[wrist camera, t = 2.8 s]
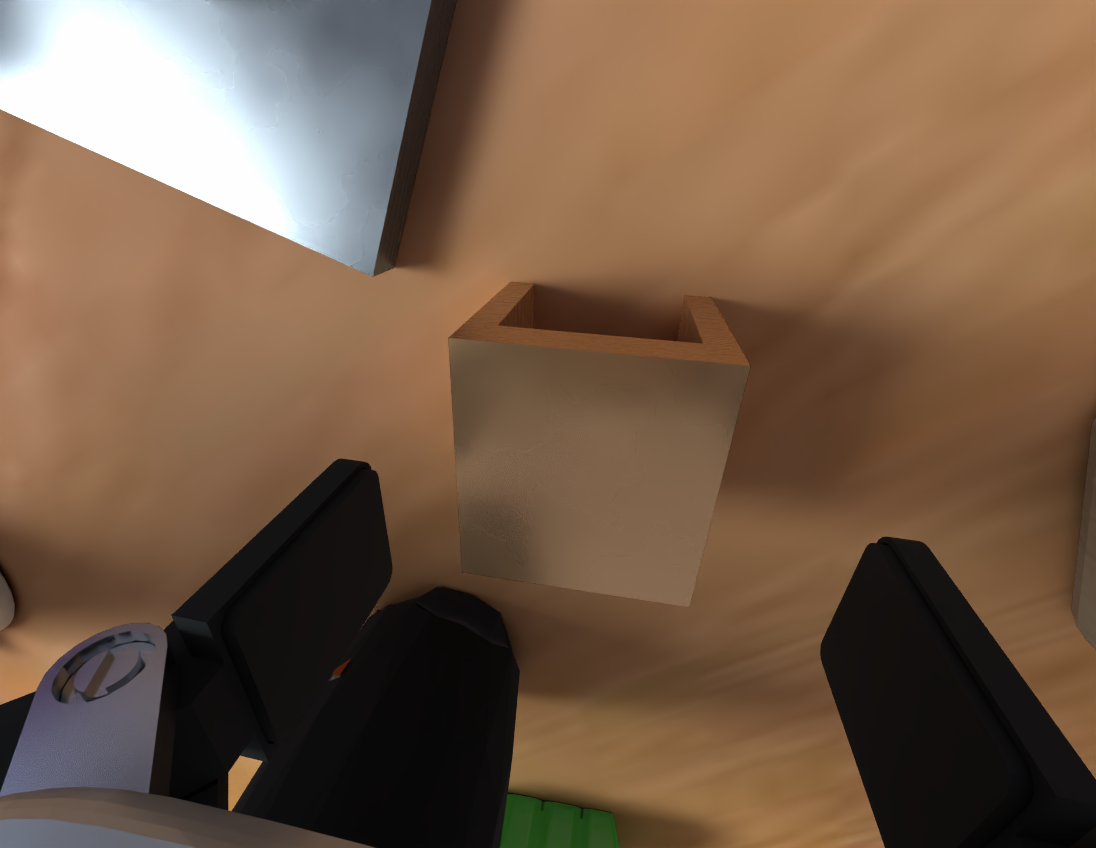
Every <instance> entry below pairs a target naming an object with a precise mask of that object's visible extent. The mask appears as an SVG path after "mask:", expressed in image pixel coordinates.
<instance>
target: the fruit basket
mask: <svg viewBox="0 0 1096 848" xmlns="http://www.w3.org/2000/svg"><path fill="white" fill-rule="evenodd" d="M500 848H619V843H618V838H617V832H616V826H615V820H614V816H613V814H612V813H609V812H604V811H599V810H594V809H581V808H579V807H576V806H573V805H568V804H563V803H557V802H552V801H545V802H542V801H541V800H539V799H536V798H532V797H527V796H522V795H516V794H507V801H506V808H505V815H504V823H503V830H502V838H501V845H500Z"/></svg>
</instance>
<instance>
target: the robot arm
mask: <svg viewBox="0 0 1096 848" xmlns="http://www.w3.org/2000/svg"><path fill="white" fill-rule="evenodd" d="M391 575H392V560H391V554H390V547H389V541H388V535H387V528H386V522H385V516H384V509H383V503H382V497H381V490H380V484H379V478H378V474H377V472H376V471H374V470H371V466H370V465H369V464H368V463H366V462H361V461H354V460H348V459H337V460H336V461H334V462H333V463H332V464H331V465H330V466H329V467H328V468H327V469H326V470H325V471H324V472H323V473H322V474H321V475H320V476H318V477H317V478H316V479H315V480H314V481H313V482H312V483H311V484H310V485H309V486H308V487H307V488H306V489H305V490H304V491H303V492H302V493H300V494H299V495H298V496H297V497H296V498H295V499H294V500H293V501H292V502H291V503H290V504H289V505H288V506H287V507H286V508H285V509H284V510H282V511H281V512H280V513H279V514H278V515H277V516H276V517H275V518H274V519H273V520H272V521H271V522H270V523H269V524H268V525H267V526H266V527H265V528H263V529H262V530H261V531H260V532H259V533H258V534H257V535H256V536H255V537H254V538H253V539H252V540H251V541H250V542H249V543H248V544H247V545H245V546H244V547H243V548H242V549H241V550H240V551H239V552H238V553H237V554H236V555H235V556H234V557H233V558H232V559H231V560H230V561H229V562H227V563H226V564H225V565H224V566H223V567H222V568H221V569H220V570H219V571H218V572H217V573H216V574H215V575H214V576H213V577H212V578H211V579H209V580H208V581H207V582H206V583H205V584H204V585H203V586H202V587H201V588H200V589H199V590H198V591H197V592H196V593H195V594H194V595H193V596H191V597H190V598H189V599H188V600H187V601H186V602H185V603H184V604H183V605H182V606H181V607H180V608H179V609H178V610H177V611H176V612H175V613H173V614H172V615H171V616H172V618H173V620H174V621H173V622H171V623H170V624H169V625H168V626H167V627H166V628H165V629H164V630H162V629H161V628H160V627H159V626H156V625H153V624H150V623H130V624H126V625H121V626H117V627H113V628H111V629H108V630H106V631H103V632H101V633H98V634H96V635H94V636H92V637H90V638H88V639H87V640H85V641H83V642H81V643H80V644H78V645H76V646H75V647H74V648H72V649H71V650H70V651H68V652H67V653H66V654H65V655H63V656H62V657H61V658H59V659H58V660H57V661H56V663H55V664H54V665H53V666H52V667H51V668H50V669H49V670H48V671H47V672H46V673H45V675H44V677H43V679H42V681H41V682H40V684H39V686H38V688H37V690H36V691H35V692H33V693H30V694H28V695H25V696H22V697H20V698H17V699H15V700H12V701H9V702H7V703H4V704H2V705H0V848H375V847H371V846H367V845H363V844H359V843H355V842H352V841H348V840H344V839H340V838H336V837H332V836H328V835H324V834H321V833H317V832H313V831H309V830H305V829H301V828H297V827H294V826H290V825H286V824H282V823H278V822H274V821H270V820H266V819H262V818H257V817H253V816H249V815H245V814H240V813H236V812H232V811H228V772H229V771H230V769H231V768H232V766H233V765H234V763H235V762H236V760H237V759H238V758H239V756H244V757H248V758H253V759H257V760H261V761H265V762H269V761H270V759H271V758H272V756H273V754H274V753H275V751H276V750H277V748H278V747H279V745H280V744H285V743H287V742H288V741H289V740H290V739H291V738H292V737H293V736H294V734H295V733H296V731H297V730H298V728H299V727H300V725H301V723H302V722H303V720H304V719H305V717H306V715H307V714H308V712H309V711H310V709H311V707H312V706H313V704H314V703H315V701H316V699H317V698H318V696H319V695H320V693H321V691H322V690H323V688H324V686H325V685H326V683H327V682H328V680H329V678H330V677H331V675H332V674H333V672H334V670H335V669H336V667H337V666H338V664H339V662H340V661H341V659H342V658H343V656H344V654H345V653H346V651H347V650H348V648H349V646H350V645H351V643H352V642H353V640H354V638H355V637H356V635H357V633H358V632H359V630H360V629H361V627H362V625H363V624H364V622H365V621H366V619H367V617H368V616H369V614H370V613H371V611H372V609H373V608H374V606H375V605H376V603H377V601H378V600H379V598H380V597H381V595H382V593H383V592H384V590H385V589H386V587H387V585H388V583H389V581H390V579H391ZM14 608H15V603H14V600H13V596H12V592H11V590H10V588H9V586H8V584H7V582H6V580H5V578H4V577H3V575H2V574H1V573H0V631H2V630H3V629H4V628H6V627H7V626H8V625H9V624H10V623H11V621H12V619H13V617H14ZM820 654H821V661H822V665H823V667H824V670H825V673H826V676H827V679H828V682H829V685H830V688H831V691H832V694H833V697H834V700H835V703H836V705H837V708H838V711H839V714H840V717H841V720H842V723H843V726H844V729H845V732H846V735H847V738H848V741H849V744H850V746H851V749H852V752H853V755H854V758H855V761H856V764H857V767H858V770H859V773H860V776H861V779H862V782H863V785H864V787H865V790H866V793H867V796H868V799H869V802H870V805H871V808H872V811H873V814H874V817H875V820H876V823H877V825H878V828H879V831H880V834H881V837H882V840H883V843H884V846H885V848H1096V779H1095V778H1094V776H1093V775H1092V774H1091V772H1090V771H1089V770H1088V768H1087V767H1086V765H1085V764H1084V763H1083V761H1082V760H1081V758H1080V757H1079V756H1078V754H1077V753H1076V751H1075V750H1074V749H1073V747H1072V746H1071V745H1070V743H1069V742H1068V740H1067V739H1066V738H1065V736H1064V735H1063V733H1062V732H1061V731H1060V729H1059V728H1058V727H1057V725H1056V724H1055V722H1054V721H1053V720H1052V718H1051V717H1050V715H1049V714H1048V713H1047V711H1046V710H1045V708H1044V707H1043V706H1042V704H1041V703H1040V702H1039V700H1038V699H1037V697H1036V696H1035V695H1034V693H1033V692H1032V690H1031V689H1030V688H1029V686H1028V685H1027V683H1026V682H1025V681H1024V679H1023V678H1022V677H1021V675H1020V674H1019V672H1018V671H1017V670H1016V668H1015V667H1014V665H1013V664H1012V663H1011V661H1010V660H1009V659H1008V657H1007V656H1006V654H1005V653H1004V652H1003V650H1002V649H1001V647H1000V646H999V645H998V643H997V642H996V640H995V639H994V638H993V636H992V635H991V634H990V632H989V631H988V629H987V628H986V627H985V625H984V624H983V622H982V621H981V620H980V618H979V617H978V616H977V614H976V613H975V611H974V610H973V609H972V607H971V606H970V604H969V603H968V602H967V600H966V599H965V597H964V596H963V595H962V593H961V592H960V591H959V589H958V588H957V586H956V585H955V584H954V582H953V581H952V579H951V578H950V577H949V575H948V574H947V572H946V571H945V570H944V568H943V567H942V566H941V564H940V563H939V561H938V560H937V559H936V557H935V556H934V554H933V553H932V552H931V550H930V549H929V548H928V547H927V546H926V545H925V544H924V543H922V542H920V541H913V540H906V539H899V538H892V537H882V538H881V539H879V540H878V542H877V543H870V544H869V545H867V547H866V549H865V551H864V553H863V555H862V557H861V559H860V561H859V563H858V565H857V568H856V570H855V572H854V574H853V576H852V578H851V580H850V583H849V585H848V587H847V589H846V591H845V593H844V595H843V597H842V600H841V602H840V604H839V606H838V608H837V610H836V612H835V614H834V617H833V619H832V621H831V623H830V625H829V627H828V629H827V631H826V634H825V636H824V638H823V640H822V643H821V649H820Z"/></svg>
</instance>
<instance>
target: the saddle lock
mask: <svg viewBox="0 0 1096 848" xmlns="http://www.w3.org/2000/svg"><path fill="white" fill-rule="evenodd" d="M533 315H534V284H532V283H518V282H510V283H509V284H507V285H506V286H505V287H504V288H503V289H502V290H501V291H500V292H499V293H497V294H496V295H495V296H494V297H493V298H492V299H491V300H490V301H489V302H487V303H486V304H485V305H484V306H483V307H482V308H481V309H480V310H479V311H478V312H476V313H475V314H474V315H473V316H472V317H471V318H470V319H469V320H468V321H466V322H465V323H464V324H463V325H462V326H461V327H460V328H459V329H458V330H456V331H455V332H454V333H453V334H452V335H451V336H450V337H449V338H448V343H449V360H450V377H451V394H452V410H453V427H454V444H455V461H456V478H457V495H458V511H459V528H460V545H461V562H462V573H469V574H475V575H482V576H489V577H495V578H502V579H508V580H515V581H521V582H528V583H534V584H541V585H547V586H554V587H560V588H567V589H573V590H580V591H586V592H593V593H599V594H606V595H612V596H619V597H625V598H632V599H638V600H645V601H651V602H658V603H665V604H671V605H678V606H684V607H690V603H691V599H692V595H693V591H694V587H695V583H696V579H697V575H698V571H699V567H700V563H701V559H702V555H703V552H704V548H705V544H706V540H707V536H708V532H709V528H710V524H711V520H712V516H713V512H714V508H715V504H716V500H717V496H718V492H719V488H720V485H721V481H722V477H723V473H724V469H725V465H726V461H727V457H728V453H729V449H730V445H731V441H732V437H733V433H734V429H735V425H736V422H737V418H738V414H739V410H740V406H741V402H742V398H743V394H744V390H745V386H746V382H747V378H748V374H749V370H750V364H749V362H748V361H747V359H746V357H745V355H744V354H743V352H742V350H741V348H740V347H739V345H738V343H737V341H736V340H735V338H734V336H733V334H732V333H731V331H730V329H729V327H728V326H727V324H726V322H725V320H724V319H723V317H722V315H721V314H720V312H719V310H718V308H717V307H716V305H715V303H714V301H713V300H712V298H711V297H701V296H688V295H685V298H684V304H683V309H682V315H681V321H680V327H679V332H678V338H677V341H667V340H655V339H644V338H633V337H621V336H610V335H599V334H587V333H576V332H565V331H553V330H542V329H533Z"/></svg>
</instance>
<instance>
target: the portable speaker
mask: <svg viewBox="0 0 1096 848" xmlns="http://www.w3.org/2000/svg"><path fill="white" fill-rule="evenodd" d="M519 673H520V671H519V668H518V665H517V662H516V659H515V657H514V654H513V651H512V648H511V644H510V641H509V638H508V635H507V632H506V629H505V626H504V623H503V620H502V617H501V614H500V613H499V612H498V611H496V610H494V609H493V608H491V607H489V606H488V605H486V604H485V603H483V602H481V601H480V600H478V599H477V598H475V597H473V596H472V595H468V594H464V593H460V592H456V591H452V590H447V589H443V588H439V587H437V588H435V589H433V590H431V591H429V592H428V593H426V594H424V595H422V596H421V597H419V598H416V599H412V600H409V601H405V602H401V603H398V604H394V605H389V606H387V607H385V608H384V609H382V610H377V611H376V612H375V614H374V615H372V616H370V617H369V619H368V620H367V621H366V623H365V624H364V625H363V626H362V628H361V629H360V630H359V632H358V633H357V635H356V637H355V638H354V640H353V642H352V643H351V645H350V646H349V648H348V650H347V651H346V653H345V654H344V656H343V658H342V659H341V661H340V662H339V664H338V666H337V667H336V669H335V670H334V672H333V674H332V675H331V677H330V678H329V680H328V682H327V683H326V685H325V686H324V688H323V690H322V691H321V693H320V695H319V696H318V698H317V699H316V701H315V703H314V704H313V706H312V707H311V709H310V711H309V712H308V714H307V715H306V717H305V719H304V720H303V722H302V723H301V725H300V727H299V728H298V730H297V731H296V733H295V734H294V736H293V737H292V738H291V739H290V740H289V741H288V742H287V743H285V744H280V745H279V747H278V748H277V750H276V751H275V753H274V754H273V756H272V758H271V759H270V761H269V762H265V761H263V762H262V763H261V765H260V767H259V768H258V770H257V771H256V773H255V775H254V776H253V778H252V779H251V781H250V783H249V784H248V786H247V787H246V789H245V791H244V792H243V794H242V795H241V797H240V799H239V800H238V802H237V803H236V805H235V807H234V808H233V810H232V812H236V813H240V814H245V815H249V816H253V817H257V818H262V819H266V820H270V821H274V822H278V823H282V824H286V825H290V826H294V827H297V828H301V829H305V830H309V831H313V832H317V833H321V834H324V835H328V836H332V837H336V838H340V839H344V840H348V841H352V842H355V843H359V844H363V845H367V846H371V847H375V848H500V845H501V838H502V830H503V823H504V815H505V808H506V801H507V793H508V786H509V778H510V771H511V763H512V755H513V743H514V731H515V719H516V708H517V696H518V684H519Z"/></svg>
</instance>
